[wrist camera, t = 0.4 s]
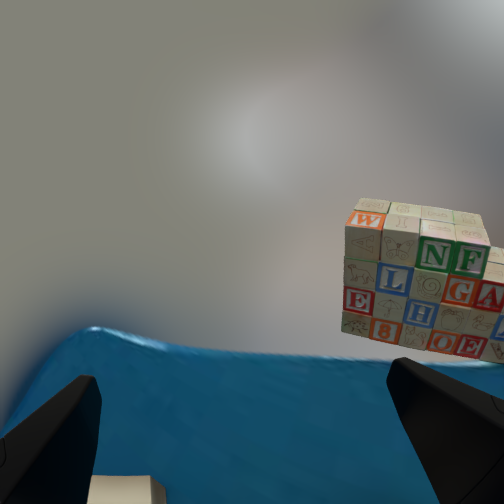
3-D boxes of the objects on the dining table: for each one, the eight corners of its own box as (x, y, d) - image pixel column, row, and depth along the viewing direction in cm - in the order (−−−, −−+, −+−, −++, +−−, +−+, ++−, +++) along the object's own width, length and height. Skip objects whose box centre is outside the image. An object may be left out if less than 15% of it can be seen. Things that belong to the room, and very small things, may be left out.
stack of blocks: (520, 327, 24) (557, 230, 18) (525, 369, 20) (577, 265, 14) (355, 296, 35) (360, 194, 29) (338, 332, 30) (343, 221, 24)
